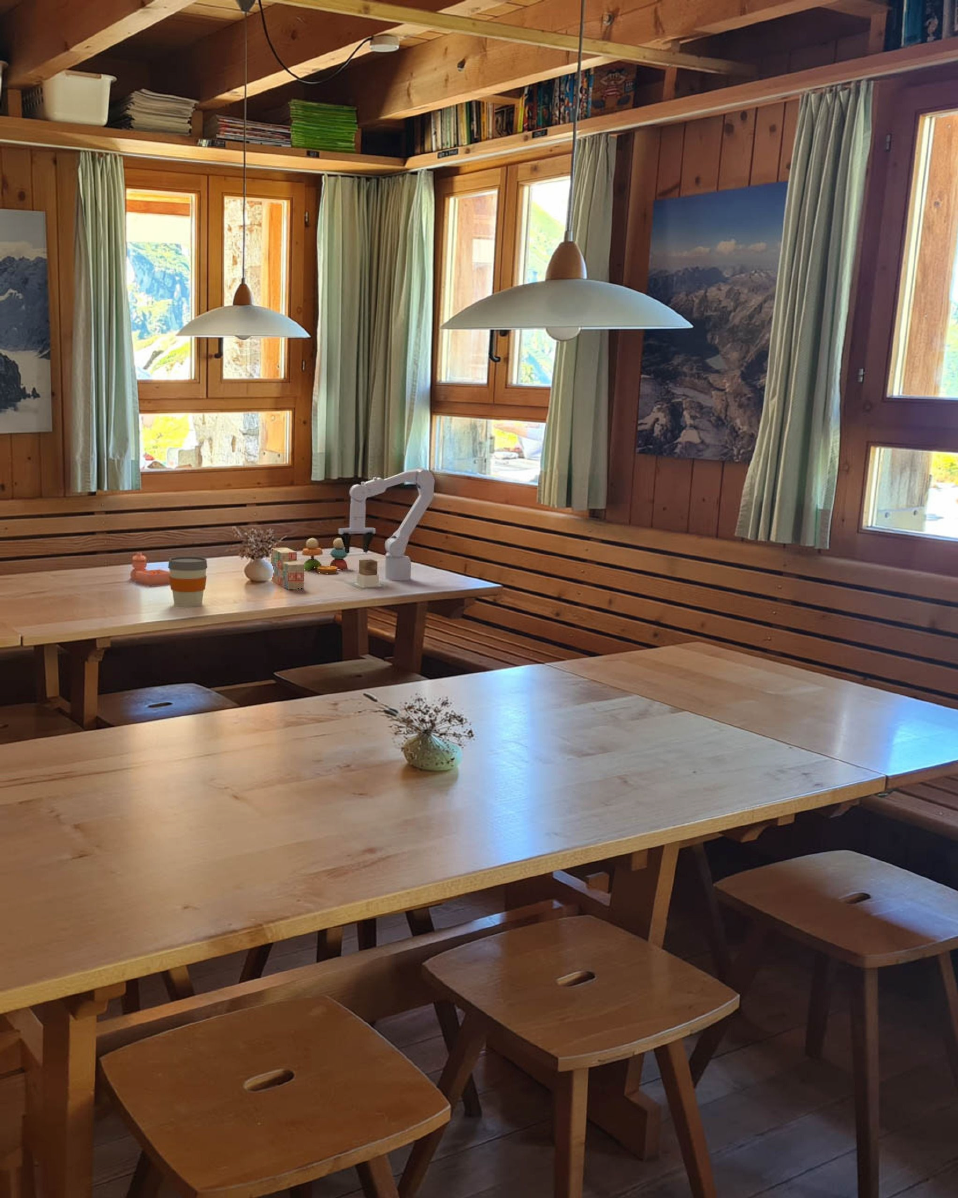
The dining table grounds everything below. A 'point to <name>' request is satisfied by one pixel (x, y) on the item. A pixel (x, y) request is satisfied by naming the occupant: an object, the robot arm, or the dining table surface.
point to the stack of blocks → (287, 568)
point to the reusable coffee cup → (187, 580)
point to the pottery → (148, 573)
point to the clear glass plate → (367, 586)
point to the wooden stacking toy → (312, 551)
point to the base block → (367, 580)
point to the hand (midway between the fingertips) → (356, 552)
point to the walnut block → (368, 567)
